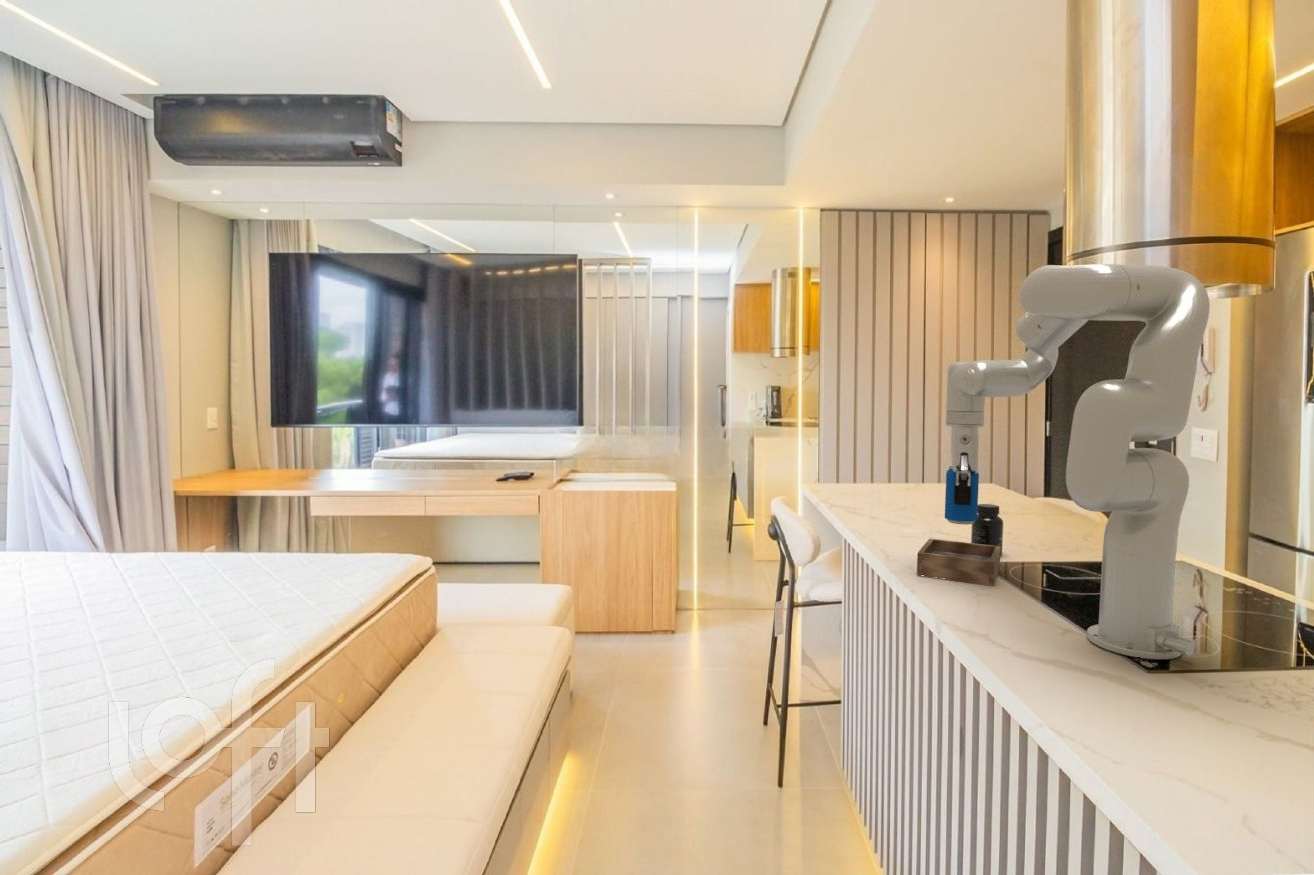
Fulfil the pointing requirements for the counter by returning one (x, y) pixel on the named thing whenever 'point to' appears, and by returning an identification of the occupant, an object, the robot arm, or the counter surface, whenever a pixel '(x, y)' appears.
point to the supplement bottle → (988, 526)
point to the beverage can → (961, 512)
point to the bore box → (959, 561)
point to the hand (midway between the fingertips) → (961, 500)
